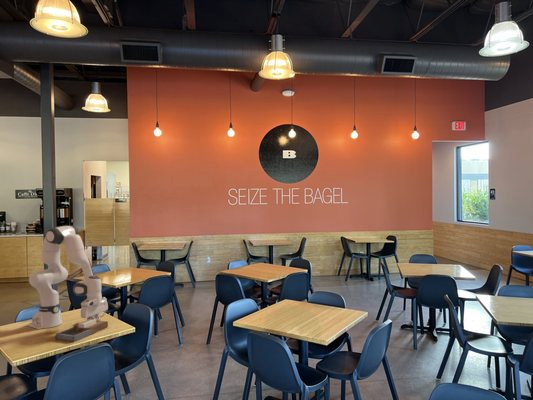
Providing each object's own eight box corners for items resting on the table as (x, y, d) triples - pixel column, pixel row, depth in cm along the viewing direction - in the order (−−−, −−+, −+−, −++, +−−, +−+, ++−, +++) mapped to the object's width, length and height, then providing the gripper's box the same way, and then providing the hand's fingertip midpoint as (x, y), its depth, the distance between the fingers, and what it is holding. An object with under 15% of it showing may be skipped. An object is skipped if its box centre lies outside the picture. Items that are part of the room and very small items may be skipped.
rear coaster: (84, 324, 244) (84, 321, 244) (90, 322, 249) (90, 318, 249) (90, 325, 242) (90, 321, 242) (96, 323, 247) (96, 319, 247)
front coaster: (78, 327, 239) (78, 323, 239) (84, 324, 244) (84, 321, 244) (84, 328, 238) (84, 324, 238) (90, 325, 242) (90, 321, 242)
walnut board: (73, 332, 242) (73, 326, 242) (91, 325, 255) (90, 319, 255) (91, 334, 237) (91, 328, 237) (107, 327, 250) (107, 321, 250)
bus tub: (56, 339, 230) (55, 333, 230) (73, 332, 242) (73, 326, 242) (73, 342, 225) (73, 336, 225) (91, 334, 237) (91, 329, 237)
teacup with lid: (86, 324, 257) (86, 307, 257) (86, 320, 266) (86, 304, 266) (105, 321, 263) (104, 305, 263) (104, 317, 271) (104, 302, 271)
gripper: (102, 296, 260) (103, 315, 260) (78, 304, 241) (79, 325, 241) (109, 296, 258) (110, 316, 258) (86, 304, 239) (86, 326, 239)
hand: (95, 320), depth 249 cm, fingers closed
